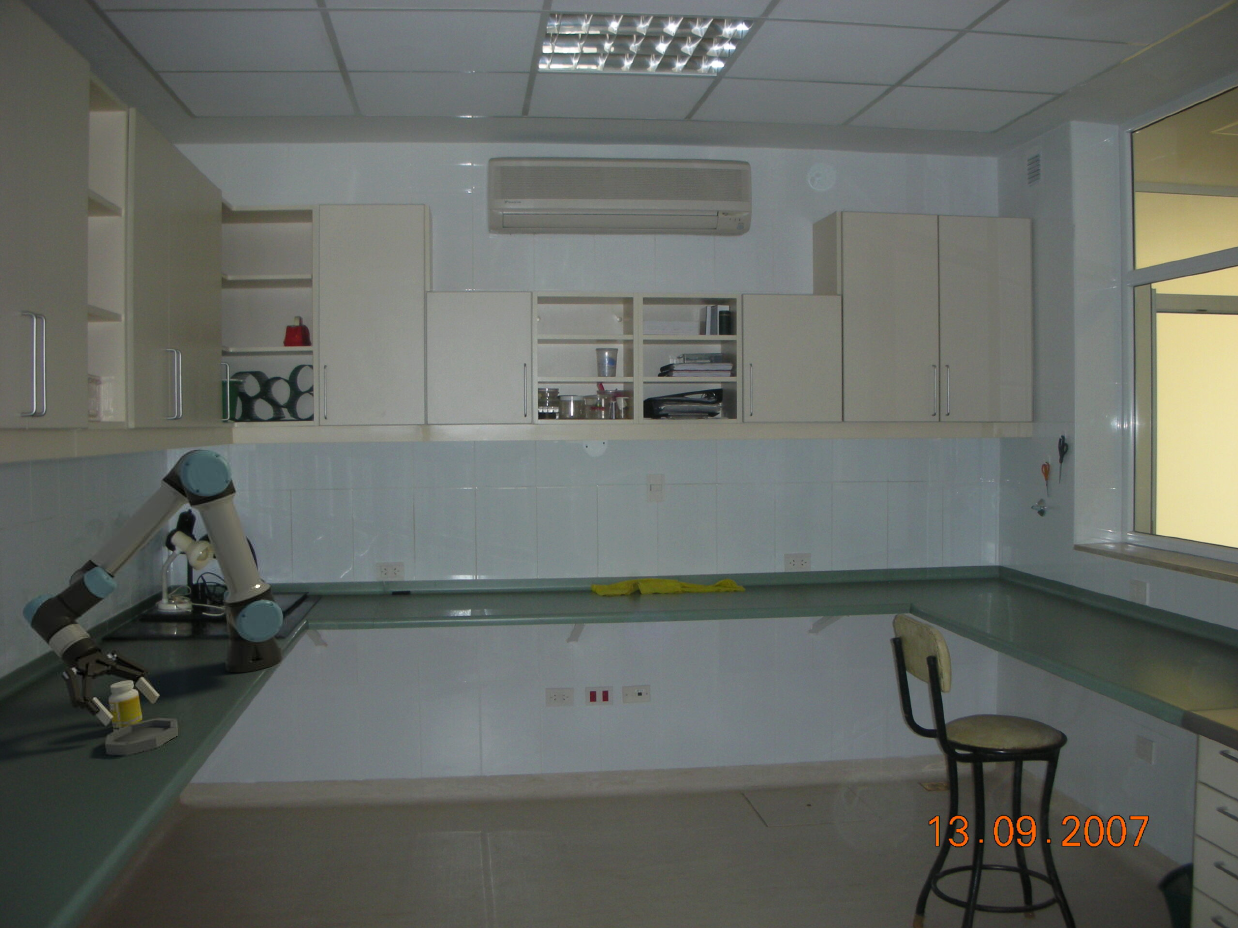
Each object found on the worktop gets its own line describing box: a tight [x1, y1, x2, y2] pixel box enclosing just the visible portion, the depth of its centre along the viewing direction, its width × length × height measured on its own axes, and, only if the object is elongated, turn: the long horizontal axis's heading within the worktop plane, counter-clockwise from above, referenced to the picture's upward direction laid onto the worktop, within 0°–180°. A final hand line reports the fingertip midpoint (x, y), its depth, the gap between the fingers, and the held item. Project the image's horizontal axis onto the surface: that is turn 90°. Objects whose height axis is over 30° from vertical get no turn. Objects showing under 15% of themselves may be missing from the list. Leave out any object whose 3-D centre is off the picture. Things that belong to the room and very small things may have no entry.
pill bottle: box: [108, 679, 144, 732], centre depth 195 cm, size 6×6×11 cm
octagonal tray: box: [104, 717, 179, 757], centre depth 187 cm, size 14×14×2 cm
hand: (133, 710), depth 195 cm, fingers open, 12 cm apart
